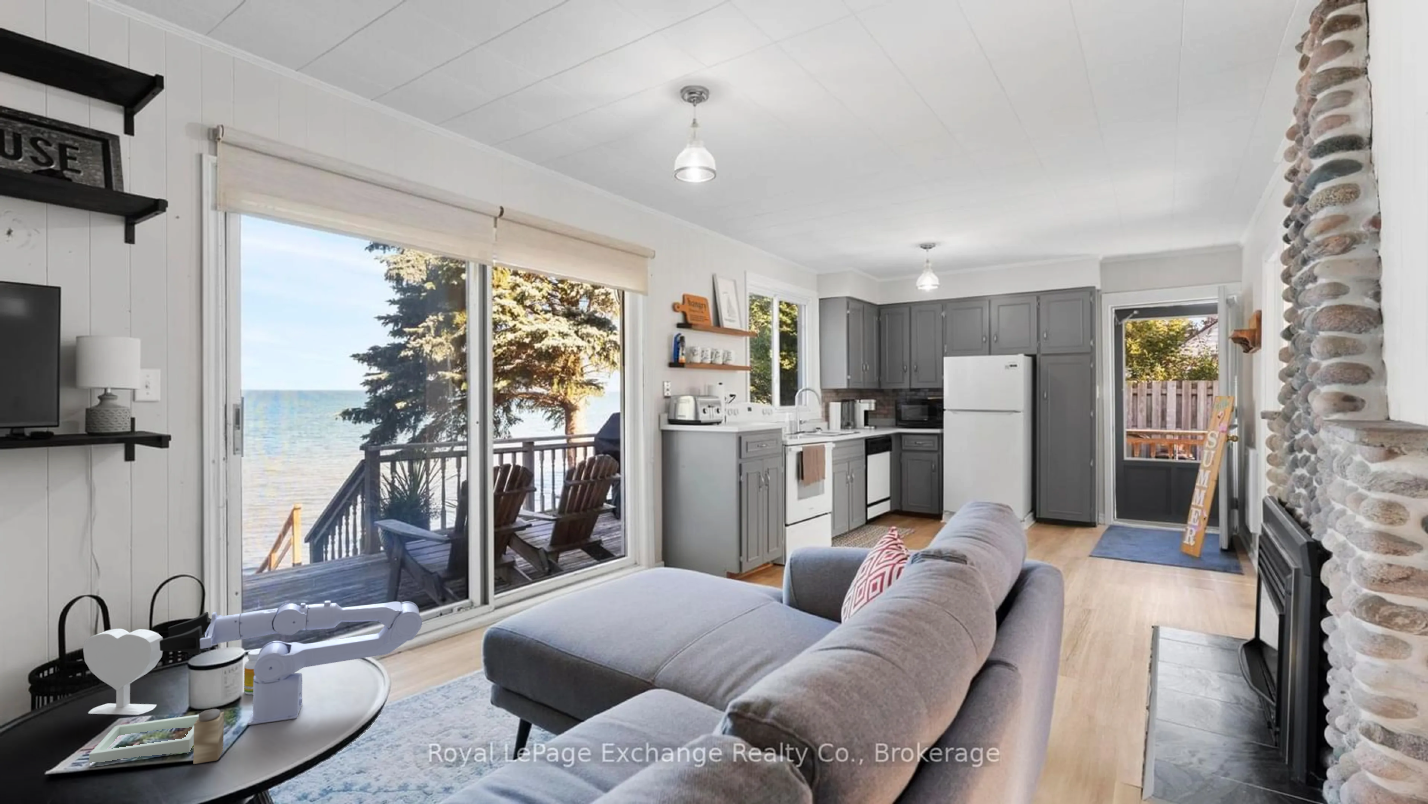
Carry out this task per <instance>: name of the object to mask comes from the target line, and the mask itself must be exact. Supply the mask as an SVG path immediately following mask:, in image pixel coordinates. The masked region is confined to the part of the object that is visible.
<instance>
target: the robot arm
mask: <svg viewBox="0 0 1428 804" xmlns="http://www.w3.org/2000/svg"><path fill="white" fill-rule="evenodd" d="M331 601H332V600H324V602H323V603H314V604H306V602H301V603H300V605H299V604H297V603H291V602H286V603H283V604H282V605H280V606H279V607H277V608H269V609H261V610H254V611H247V612H241V613H234V614H229V615H223V614H220V615H218V612H217V611H213V612H212V613H211V617H210V616H209V615H210V614H209V612H208V611H205V612H204V613H202V614H200V615H198V616H197V617H194V618H192V619H189V620H187V621H183V622H180V623H177V624H175V625H172V626H169V627H168V628H167V631H168V637H165V638H163V639H162V640H160V651H163V652H185V653H189V654H193V655H201V652H202V649H207V648H212V647H213V646H217V645H219V644H223V643H229V642H235V641H241V640H245V639H252V638H260V637H263V636H269V635H273V634H274V635H275V634H280V635H282V636H293V635H294V634H297V633H298V632H299V631H312V630H314V631H315V630H325V629H335V628H336V626H338V625H339V624H340V623H349V622H350V623H353V622H354V623H355V622H357V623H358V622H378V623H380V624H382V625H383V627H382V628H381V630H380V631H379V632H377V633H372V634H365V635H357V636H350V637H344V638H337V639H330V640H329V639H328V640H324V641H318V642H310V643H309V642H308V643H302V642H297V641H293V642H285V641H281V640H273V641H269V642H267V643H266V644H264V645H263V646H262V647H261V648H260V649H261V650H260V652H259V657H258V660H257V662H256V664H255V667H254V674H255V676H254V680H253V696H252V712H251V713H252V714H253V715H252V714H251V715H250V716H249V719H248V721H247V722H246V724H247V725H248V726H250V725H257V724H259V725H260V724H265V723H271V722H278V721H286V720H291V719H292V720H293V719H297V718H298V716H299V713H300V710H301V708H302V705H303V674H302V672H298V671H300V670H301V669H304V668H310V667H316V666H322V665H328V664H333V663H334V664H335V663H340V662H347V661H352V660H353V661H354V660H359V659H366V658H372V657H378V656H384V655H388V654H391V653H392V652H394V651H395V650H396V649H398V648H400V647H401V646H402V645H404V644H405V643H407V642H409V641H412V640H413V639H415V637H416V636H417V635H418V632H420V631H421V628H422V625H423V619H422V617H421V615H420V610H419V607H418V605H417V604H416V603H414V602H412V601H402V602H400V601H396V600H395V601H389V602H384V603H372V604H364V605H355V606H354V605H353V606H347V607H346V606H345V607H342V606H340V605H339V604H338V603H337V602H331Z"/></svg>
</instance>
